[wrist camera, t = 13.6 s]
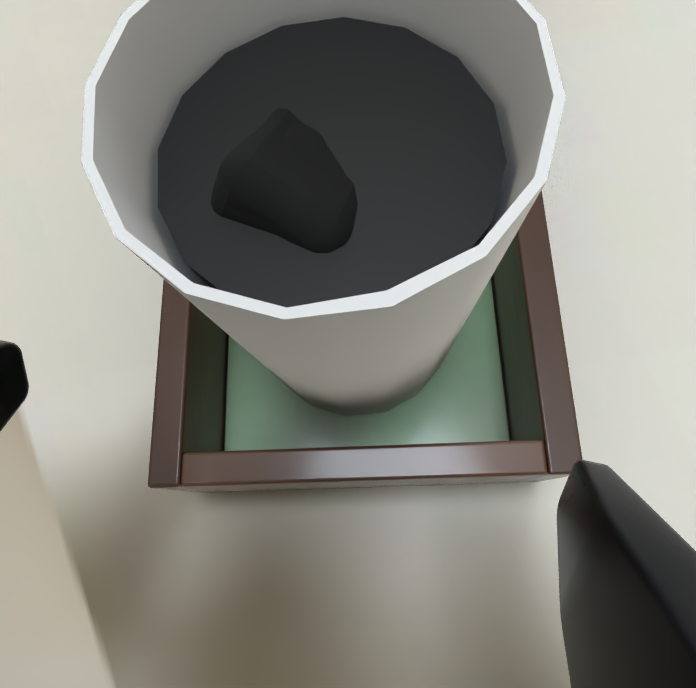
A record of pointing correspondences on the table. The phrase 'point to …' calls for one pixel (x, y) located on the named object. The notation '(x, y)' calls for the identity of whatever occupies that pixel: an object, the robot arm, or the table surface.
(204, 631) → the table surface
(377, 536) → the table surface
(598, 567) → the robot arm
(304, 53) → the white cup
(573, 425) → the tray
